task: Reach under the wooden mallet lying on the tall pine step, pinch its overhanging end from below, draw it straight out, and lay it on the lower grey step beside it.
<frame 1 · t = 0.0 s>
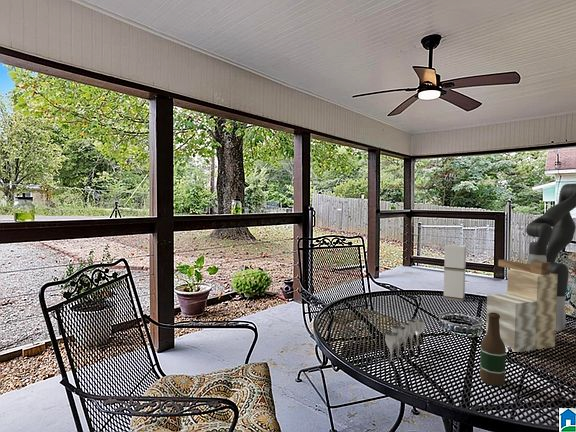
hand: (534, 296, 174), 17 cm above the table, tool pointing down, fingers open, 8 cm apart
beer bottle: (491, 381, 125), on the table
wooden mallet: (511, 268, 169), point 32 cm above the table, touching step shelf
white tall block: (454, 298, 234), on the table
step shelf: (519, 343, 159), on the table
goblet set: (405, 356, 145), on the table
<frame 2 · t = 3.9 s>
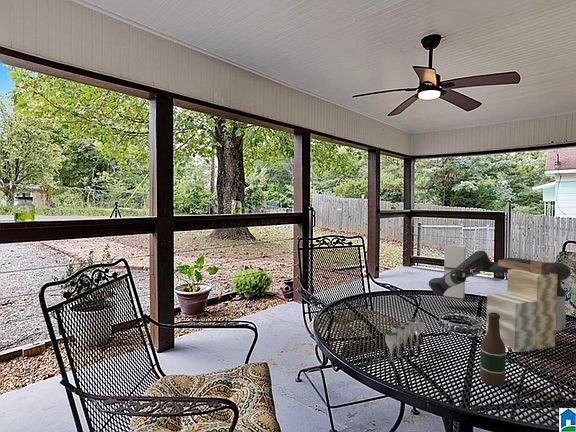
hand: (475, 268, 190), 28 cm above the table, tool pointing upward, fingers open, 8 cm apart
nothing on the table moved.
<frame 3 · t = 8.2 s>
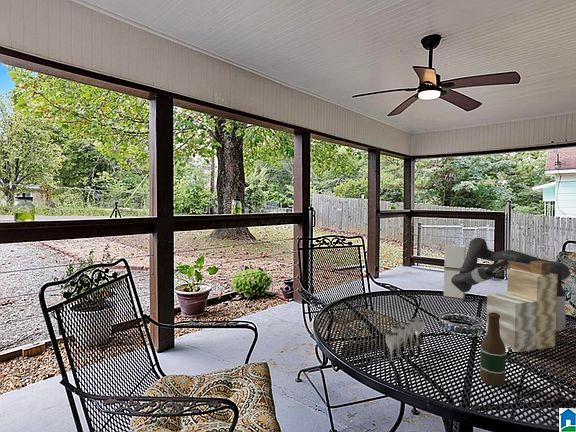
hand: (509, 261, 170), 35 cm above the table, tool pointing upward, fingers closed on wooden mallet, 3 cm apart
wooden mallet: (511, 268, 169), point 32 cm above the table, touching gripper, step shelf
everything else where it was.
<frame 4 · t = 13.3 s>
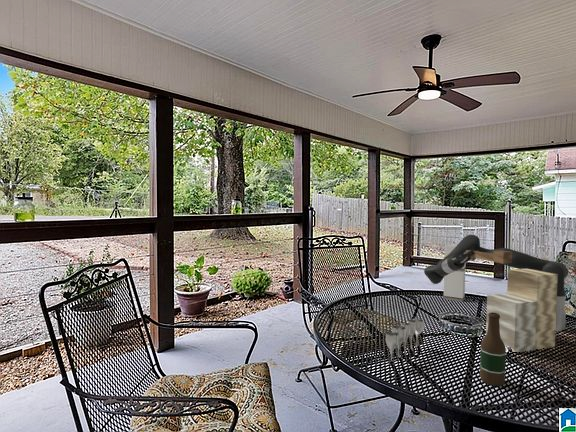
hand: (476, 251, 173), 39 cm above the table, tool pointing upward, fingers closed on wooden mallet, 3 cm apart
wooden mallet: (477, 258, 173), point 36 cm above the table, touching gripper
everything else where it was.
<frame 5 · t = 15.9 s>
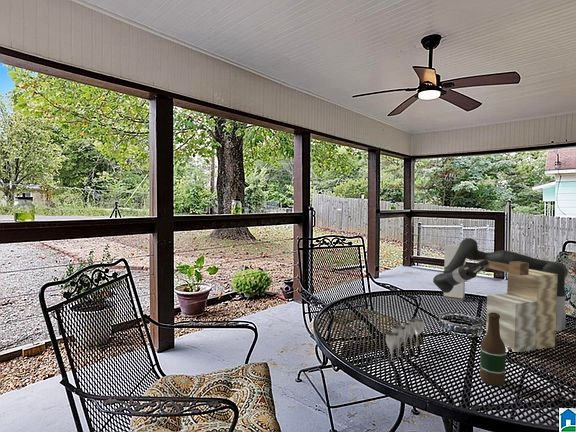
hand: (489, 261, 166), 35 cm above the table, tool pointing upward, fingers closed on wooden mallet, 3 cm apart
wooden mallet: (491, 268, 165), point 32 cm above the table, touching gripper
everything else where it was.
when the fingers open (26 cm above the table, at t = 18.2 s): wooden mallet drops 2 cm, resting on step shelf.
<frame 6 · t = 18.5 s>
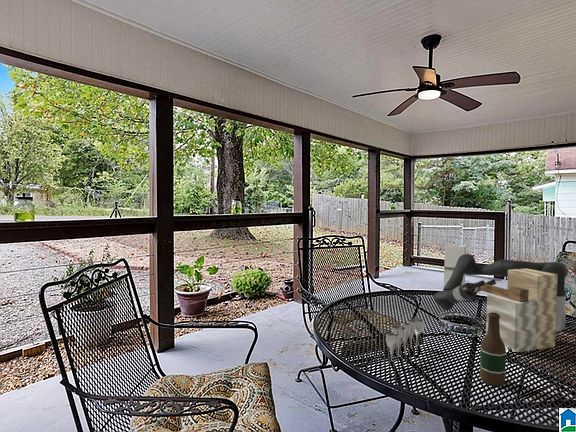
hand: (489, 282, 167), 26 cm above the table, tool pointing upward, fingers open, 6 cm apart
wooden mallet: (491, 292, 166), point 21 cm above the table, touching step shelf
everything else where it was.
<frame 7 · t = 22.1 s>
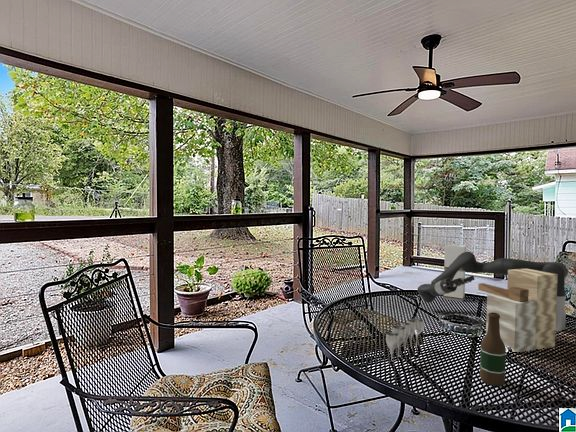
hand: (467, 278, 179), 25 cm above the table, tool pointing upward, fingers open, 8 cm apart
nothing on the table moved.
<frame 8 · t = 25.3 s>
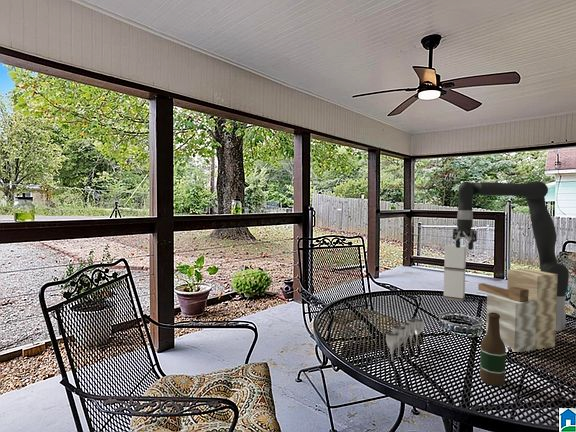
hand: (464, 248, 192), 38 cm above the table, tool pointing down, fingers open, 8 cm apart
nothing on the table moved.
at the end: wooden mallet inside the target area (0.2 cm from its centre), point 21.0 cm above the table; wooden mallet tilted 0°; the gripper is holding nothing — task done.
